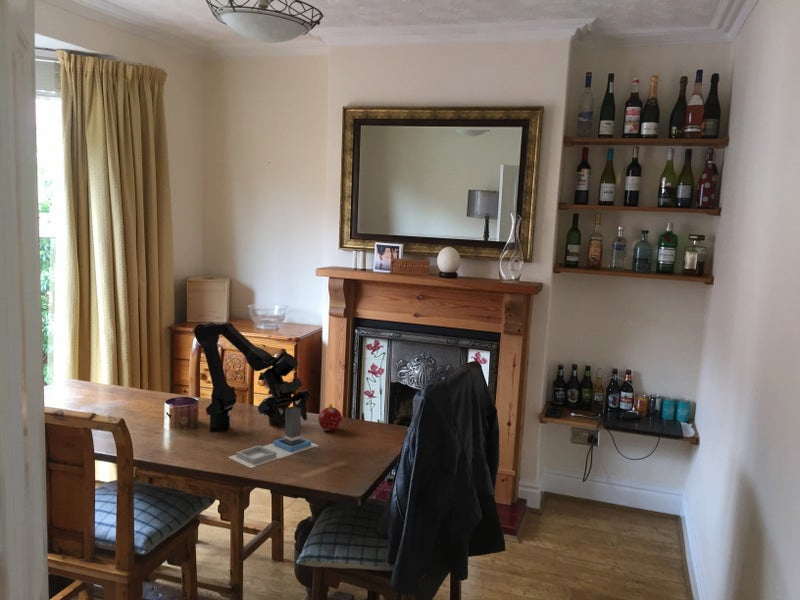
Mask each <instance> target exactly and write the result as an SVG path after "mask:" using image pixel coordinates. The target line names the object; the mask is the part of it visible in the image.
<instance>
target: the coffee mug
mask: <svg viewBox="0 0 800 600" xmlns="http://www.w3.org/2000/svg"><path fill="white" fill-rule="evenodd" d="M271 397H273V396H272V395H269V396H267V397H266V398H271ZM292 404H294V403H293V402H291V403H287V404H283V405H278V408H279V412H280V414H281V416H282V418H283V420H284V422H285V408H288V407H291V405H292ZM267 417H268V425H269V426H271V427H275V426H278V428H279V427H283V426H282V425H280V424H279V423H278V422H276V421H275V420H273V419H272V418H270V417H269V416H267Z"/></svg>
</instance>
